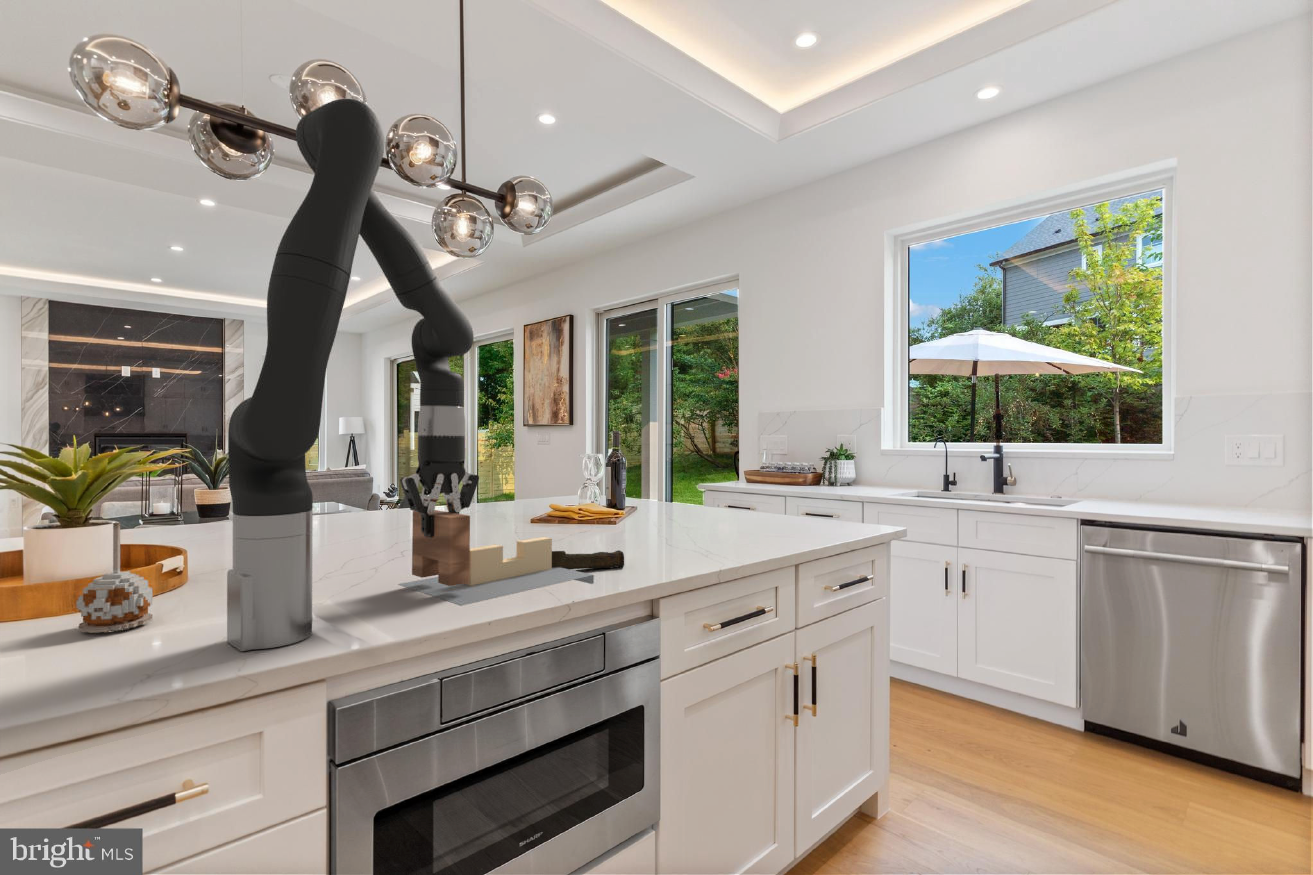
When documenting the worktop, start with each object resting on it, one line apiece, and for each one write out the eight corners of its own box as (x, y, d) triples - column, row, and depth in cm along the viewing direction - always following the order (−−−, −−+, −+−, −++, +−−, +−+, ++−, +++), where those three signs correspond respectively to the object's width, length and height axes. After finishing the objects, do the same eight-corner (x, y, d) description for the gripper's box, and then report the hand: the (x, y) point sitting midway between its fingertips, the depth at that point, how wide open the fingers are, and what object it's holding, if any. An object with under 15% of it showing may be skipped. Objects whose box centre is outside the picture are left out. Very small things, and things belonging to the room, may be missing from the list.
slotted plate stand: (461, 614, 96) (461, 566, 96) (398, 592, 109) (398, 549, 109) (593, 582, 117) (593, 542, 117) (527, 567, 130) (527, 531, 130)
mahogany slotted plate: (449, 586, 100) (450, 517, 100) (411, 574, 108) (412, 511, 108) (469, 582, 103) (470, 515, 103) (431, 571, 110) (431, 509, 110)
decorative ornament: (64, 638, 84) (64, 527, 84) (102, 621, 92) (103, 519, 92) (131, 634, 86) (131, 526, 86) (163, 618, 93) (163, 518, 93)
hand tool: (618, 568, 133) (617, 546, 134) (625, 569, 130) (625, 547, 130) (531, 574, 125) (531, 550, 126) (536, 575, 121) (536, 551, 122)
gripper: (413, 433, 97) (411, 543, 97) (490, 434, 108) (489, 533, 108) (390, 433, 102) (389, 537, 102) (466, 433, 113) (465, 528, 113)
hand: (440, 534), depth 105 cm, fingers closed on mahogany slotted plate, 3 cm apart
